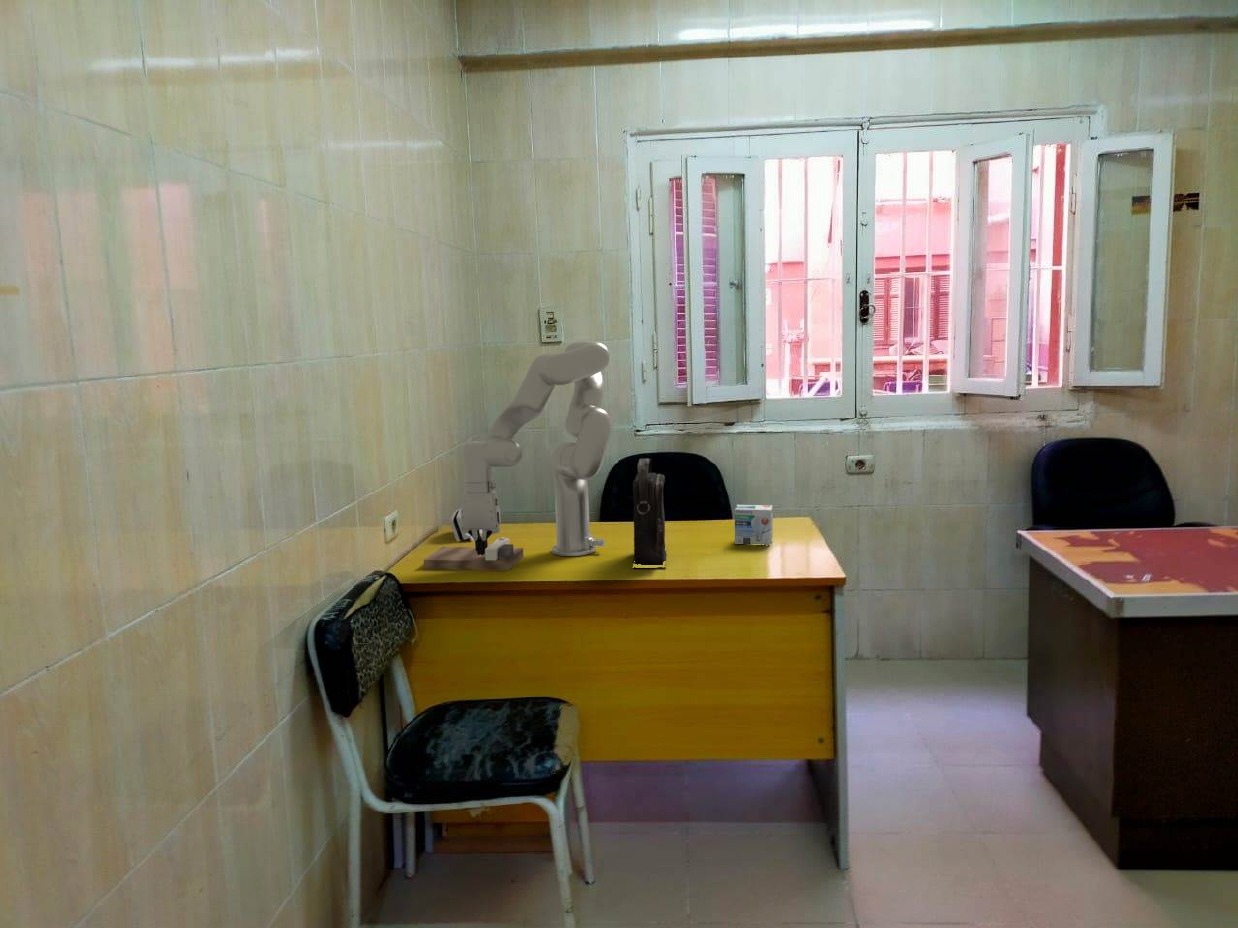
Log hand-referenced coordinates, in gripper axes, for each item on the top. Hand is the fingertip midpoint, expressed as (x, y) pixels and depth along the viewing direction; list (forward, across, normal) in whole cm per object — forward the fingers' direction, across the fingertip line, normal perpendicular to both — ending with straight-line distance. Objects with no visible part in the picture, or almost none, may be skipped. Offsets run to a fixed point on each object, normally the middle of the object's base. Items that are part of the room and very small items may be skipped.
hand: (481, 553), depth 238 cm
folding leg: (+1, -3, -3) cm, 5 cm away
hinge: (+4, +17, -35) cm, 39 cm away
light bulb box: (+3, -72, -31) cm, 79 cm away
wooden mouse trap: (+4, +4, -4) cm, 7 cm away
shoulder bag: (+4, -44, -12) cm, 46 cm away
